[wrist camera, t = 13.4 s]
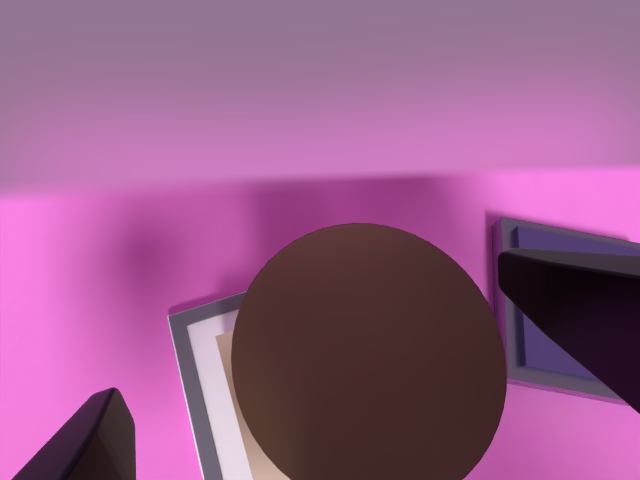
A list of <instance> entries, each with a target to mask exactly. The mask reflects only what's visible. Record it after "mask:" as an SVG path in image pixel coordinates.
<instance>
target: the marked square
mask: <svg viewBox="0 0 640 480" xmlns="http://www.w3.org/2000/svg"><path fill="white" fill-rule="evenodd" d="M246 293H247V291H244V292H241V293H238V294H235V295H232V296H229V297H226V298H222V299H219V300H216V301H213V302H210V303H207V304H204V305H200V306H197V307H194V308H191V309H188V310H185V311H182V312H178V313H175V314H172V315H169V316H167V319H168V324H169V328H170V333H171V338H172V342H173V347H174V351H175V356H176V360H177V365H178V369H179V374H180V379H181V383H182V388H183V392H184V397H185V401H186V406H187V410H188V415H189V420H190V424H191V429H192V433H193V438H194V442H195V447H196V451H197V456H198V460H199V465H200V470H201V474H202V479H203V480H253V478H252V474H251V470H250V466H249V462H248V459H247V455H246V451H245V447H244V444H243V440H242V436H241V432H240V428H239V425H238V421H237V417H236V413H235V410H234V406H233V402H232V398H231V394H230V391H229V387H228V383H227V379H226V376H225V372H224V368H223V364H222V360H221V357H220V353H219V349H218V345H217V342H216V338H215V336H218V335H221V334H224V333H227V332H230V331H232V330H234V326H235V321H236V318H237V315H238V312H239V309H240V306H241V303H242V301H243V299H244V297H245V295H246Z"/></svg>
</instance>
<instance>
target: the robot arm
mask: <svg viewBox="0 0 640 480" xmlns="http://www.w3.org/2000/svg"><path fill="white" fill-rule="evenodd" d="M497 268H498V285H499V287H500V289H501V291H502V292H503V293H504V294H505V295H506V296H507V297H508V298H509V299H510V300H511V301H512V302H513V303H514V304H515V305H516V306H517V307H518V308H519V309H520V310H521V311H522V312H523V313H524V314H525V315H526V316H527V317H528V318H529V319H530V320H531V321H532V322H533V323H534V324H535V325H536V326H537V327H538V328H539V329H540V330H541V331H542V332H543V333H544V334H545V335H546V336H547V337H548V338H550V339H551V340H552V341H553V342H554V343H555V344H557V345H558V346H559V347H560V348H561V349H563V350H564V351H565V352H566V353H567V354H569V355H570V356H571V357H572V358H573V359H575V360H576V361H577V362H578V363H579V364H581V365H582V366H583V367H584V368H585V369H587V370H588V371H589V372H590V373H591V374H593V375H594V376H595V377H596V378H597V379H599V380H600V381H601V382H602V383H603V384H605V385H606V386H607V387H608V388H609V389H611V390H612V391H613V392H614V393H615V394H616V395H618V396H619V397H620V398H621V399H622V400H624V401H625V402H626V403H627V404H628V405H630V406H631V407H632V408H633V409H634V410H636V411H637V412H638V413H639V414H640V256H629V255H615V254H600V253H586V252H572V251H557V250H543V249H529V248H511V249H508V250H505V251H503V252H501V253H500V254H499V255H498V258H497ZM12 480H136V451H135V425H134V421H133V418H132V415H131V413H130V411H129V409H128V407H127V405H126V403H125V401H124V399H123V397H122V395H121V393H120V391H119V390H118V389H117V388H114V387H113V388H109V389H106V390H104V391H101V392H98V393H95V394H93V395H92V396H91V397H90V398H89V399H88V400H87V401H86V402H85V403H84V404H83V405H82V406H81V407H80V408H79V409H78V411H77V412H76V413H75V414H74V415H73V416H72V417H71V418H70V419H69V420H68V421H67V422H66V423H65V424H64V425H63V426H62V427H61V428H60V429H59V430H58V431H57V432H56V434H55V435H54V436H53V437H52V438H51V439H50V440H49V441H48V442H47V443H46V444H45V445H44V446H43V447H42V448H41V449H40V450H39V451H38V452H37V453H36V454H35V455H34V457H33V458H32V459H31V460H30V461H29V462H28V463H27V464H26V465H25V466H24V467H23V468H22V469H21V470H20V471H19V472H18V473H17V474H16V475H15V476H14V477H13V479H12Z"/></svg>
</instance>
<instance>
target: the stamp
mask: <svg viewBox="0 0 640 480" xmlns="http://www.w3.org/2000/svg"><path fill="white" fill-rule="evenodd" d="M215 338H216V342H217V345H218V349H219V353H220V357H221V360H222V364H223V368H224V372H225V376H226V379H227V383H228V387H229V391H230V394H231V398H232V402H233V406H234V410H235V413H236V417H237V421H238V425H239V428H240V432H241V436H242V440H243V444H244V447H245V451H246V455H247V459H248V462H249V466H250V470H251V474H252V478H253V480H462V479H463V478H465V477H466V476H467V475H468V474H469V473H470V471H471V470H472V469H473V468H474V467H475V466H476V465H477V463H478V462H479V461H480V460H481V458H482V457H483V455H484V453H485V452H486V450H487V449H488V447H489V446H490V444H491V442H492V440H493V437H494V435H495V433H496V431H497V428H498V426H499V422H500V419H501V416H502V412H503V409H504V402H505V396H506V385H507V368H506V358H505V351H504V346H503V342H502V337H501V334H500V331H499V328H498V325H497V322H496V319H495V317H494V315H493V313H492V311H491V309H490V306H489V304H488V302H487V301H486V299H485V297H484V296H483V294H482V293H481V291H480V289H479V288H478V286H477V285H476V284H475V283H474V281H473V280H472V279H471V278H470V276H469V275H468V274H467V273H466V272H465V271H464V270H463V269H462V268H461V267H460V266H459V265H458V264H457V263H456V262H455V261H454V260H453V259H452V258H451V257H449V256H448V255H447V254H446V253H444V252H443V251H442V250H440V249H439V248H437V247H436V246H434V245H433V244H431V243H430V242H428V241H426V240H424V239H422V238H420V237H418V236H416V235H414V234H411V233H408V232H406V231H403V230H400V229H396V228H392V227H388V226H384V225H377V224H369V223H351V224H342V225H335V226H331V227H327V228H323V229H320V230H317V231H314V232H312V233H309V234H307V235H305V236H303V237H301V238H299V239H297V240H295V241H293V242H292V243H291V244H289V245H288V246H286V247H285V248H283V249H282V250H281V251H279V252H278V253H277V254H276V255H275V256H274V257H273V258H272V259H271V260H269V261H268V263H267V264H266V265H265V266H264V267H263V268H262V270H261V271H260V272H259V273H258V275H257V276H256V278H255V279H254V281H253V282H252V284H251V285H250V287H249V288H248V291H247V293H246V295H245V297H244V299H243V301H242V303H241V306H240V309H239V312H238V315H237V318H236V321H235V326H234V330H232V331H230V332H227V333H224V334H221V335H218V336H215Z"/></svg>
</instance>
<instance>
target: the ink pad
mask: <svg viewBox="0 0 640 480" xmlns="http://www.w3.org/2000/svg"><path fill="white" fill-rule="evenodd" d="M492 239H493V274H494V308H495V319H496V322H497V325H498V328H499V331H500V334H501V337H502V342H503V346H504V351H505V358H506V368H507V383H510V384H515V385H521V386H526V387H531V388H537V389H542V390H547V391H552V392H558V393H563V394H568V395H574V396H579V397H584V398H590V399H595V400H600V401H606V402H611V403H616V404H622V405H627V406H630V405H628V404H627V403H626V402H625V401H624V400H622V399H621V398H620V397H619V396H618V395H616V394H615V393H614V392H613V391H612V390H611V389H609V388H608V387H607V386H606V385H605V384H603V383H602V382H601V381H600V380H599V379H597V378H596V377H595V376H594V375H593V374H591V373H590V372H589V371H588V370H587V369H585V368H584V367H583V366H582V365H581V364H579V363H578V362H577V361H576V360H575V359H573V358H572V357H571V356H570V355H569V354H567V353H566V352H565V351H564V350H563V349H561V348H560V347H559V346H558V345H557V344H555V343H554V342H553V341H552V340H551V339H550V338H548V337H547V336H546V335H545V334H544V333H543V332H542V331H541V330H540V329H539V328H538V327H537V326H536V325H535V324H534V323H533V322H532V321H531V320H530V319H529V318H528V317H527V316H526V315H525V314H524V313H523V312H522V311H521V310H520V309H519V308H518V307H517V306H516V305H515V304H514V303H513V302H512V301H511V300H510V299H509V298H508V297H507V296H506V295H505V294H504V293H503V292H502V291H501V289H500V287H499V285H498V268H497V258H498V255H499V254H500V253H501V252H503V251H505V250H508V249H511V248H529V249H543V250H557V251H572V252H586V253H600V254H615V255H629V256H640V243H635V242H629V241H624V240H619V239H614V238H609V237H603V236H598V235H593V234H588V233H583V232H577V231H572V230H567V229H562V228H557V227H551V226H546V225H541V224H536V223H530V222H525V221H520V220H515V219H510V218H504V217H501V218H500V219H499V220H498V221H497V222H496V223H495V224H494V225H492Z"/></svg>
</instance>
